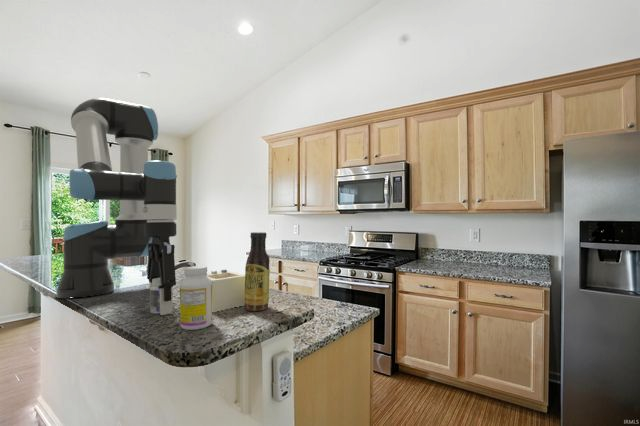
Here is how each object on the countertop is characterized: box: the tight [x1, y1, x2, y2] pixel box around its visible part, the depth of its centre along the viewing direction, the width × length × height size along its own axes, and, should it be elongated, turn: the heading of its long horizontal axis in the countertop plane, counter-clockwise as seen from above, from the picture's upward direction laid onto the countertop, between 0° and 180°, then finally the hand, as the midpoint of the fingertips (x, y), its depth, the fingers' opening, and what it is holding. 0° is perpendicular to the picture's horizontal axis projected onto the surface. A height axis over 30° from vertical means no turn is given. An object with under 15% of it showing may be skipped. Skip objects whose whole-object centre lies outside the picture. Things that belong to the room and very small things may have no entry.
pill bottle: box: [149, 278, 161, 315], centre depth 83 cm, size 5×5×8 cm
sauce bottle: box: [244, 231, 271, 312], centre depth 84 cm, size 6×6×20 cm
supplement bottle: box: [179, 265, 213, 331], centre depth 71 cm, size 7×7×13 cm
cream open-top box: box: [206, 269, 245, 313], centre depth 88 cm, size 12×10×9 cm
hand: (160, 310), depth 83 cm, fingers open, 8 cm apart
